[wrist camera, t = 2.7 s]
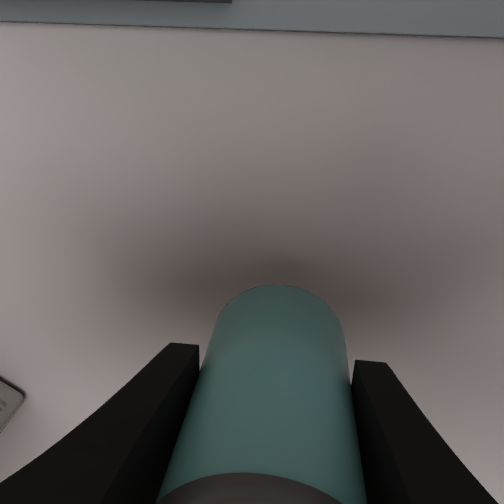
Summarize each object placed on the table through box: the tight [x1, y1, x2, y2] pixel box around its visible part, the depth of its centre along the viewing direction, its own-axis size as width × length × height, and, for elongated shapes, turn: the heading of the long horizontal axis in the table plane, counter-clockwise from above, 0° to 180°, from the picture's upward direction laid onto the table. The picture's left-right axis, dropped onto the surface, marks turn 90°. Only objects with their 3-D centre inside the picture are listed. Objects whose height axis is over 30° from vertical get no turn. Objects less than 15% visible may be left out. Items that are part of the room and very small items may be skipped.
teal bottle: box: [155, 285, 367, 504], centre depth 8 cm, size 3×3×6 cm
